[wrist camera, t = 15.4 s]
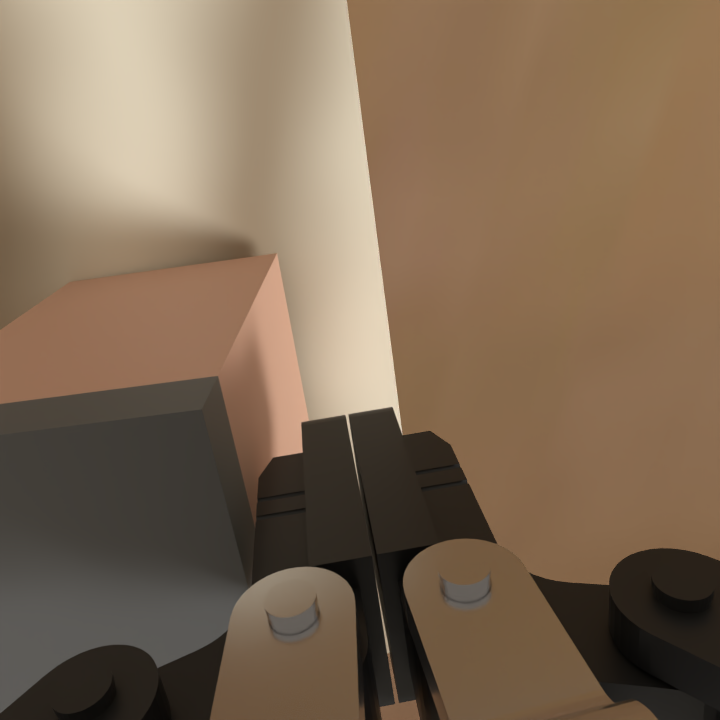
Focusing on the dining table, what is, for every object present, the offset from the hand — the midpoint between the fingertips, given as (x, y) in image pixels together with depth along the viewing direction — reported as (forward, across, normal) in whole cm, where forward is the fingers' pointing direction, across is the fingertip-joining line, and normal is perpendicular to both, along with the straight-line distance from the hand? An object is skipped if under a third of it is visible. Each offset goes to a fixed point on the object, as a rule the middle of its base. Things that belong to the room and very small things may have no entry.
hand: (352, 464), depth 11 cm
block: (+6, +3, 0) cm, 7 cm away
